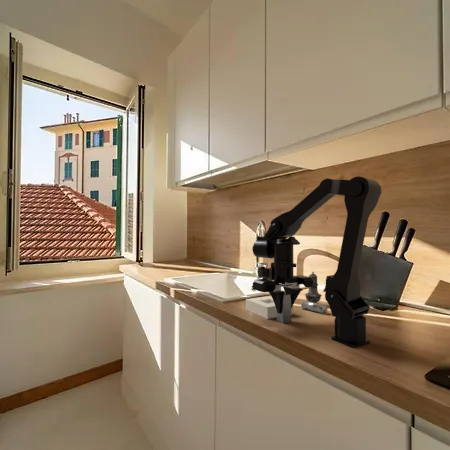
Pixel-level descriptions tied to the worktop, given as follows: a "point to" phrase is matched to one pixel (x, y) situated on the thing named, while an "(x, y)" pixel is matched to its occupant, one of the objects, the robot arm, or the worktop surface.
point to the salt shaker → (313, 290)
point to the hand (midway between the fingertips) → (283, 312)
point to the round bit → (314, 307)
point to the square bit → (285, 310)
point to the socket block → (263, 307)
